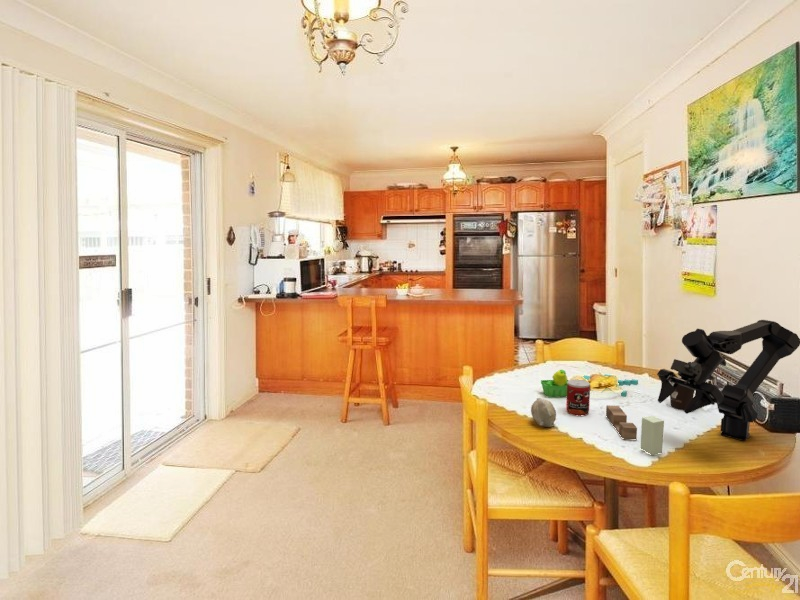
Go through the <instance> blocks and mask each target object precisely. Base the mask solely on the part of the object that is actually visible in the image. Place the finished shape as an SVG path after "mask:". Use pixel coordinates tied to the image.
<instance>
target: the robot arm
mask: <svg viewBox="0 0 800 600" xmlns="http://www.w3.org/2000/svg"><path fill="white" fill-rule="evenodd" d="M759 339H762V341H761V346H762V350H761V351H760V353H758V355H757V356H756V358H755V359H754V361H752V363H751V364H750V366H749V367H748V368H747V370H746V371H745V372H744V373H743V375H742V376H741V377H740V378H739V380H738V381H737V383H735V384H733V385H732V384H728V383H726V384H725V385H724V387H723V388H722V389H721V390H720V389H719V388H718V386H717V385H716V384H713V383H710V382H707V381H712V380H713V378H714V377H713V376H712V374H713V373H714V372H715V371H716V370H717V368H718V367H719V366H722V367H725V366H727V362H726V356H724V355H721V354H720V353H722V354H726V355H733V354H735V353H736V352H738V351H740V350H741V349H742V347H743V345H745V344H748V343H750V342H753V341H756V340H759ZM681 343H682V344H683V346H684V347H685V348H686V349H687V350H688V352H689V353H690V354H691V356H692V357H693V358H695V359H694V361H688V362H685V361H682V360H679V359H676V358H674V359H673V361H672V363H671V366H670V370H669V369H666V368H661V369H660V370H658V372H657V373H656V376H657V377H658V379H659V381H661V385H660V386H661V387H660V391H659V395H658V398H657V402H658V403H659V404H661V403H663V402H664V401H665V400H666V399H667V398H670V395H671V394H672V393H673V392H674V391H676V389H675V388H676V387H678V386H679V385H681V386H684V387H687V388H690V389H693V390H695V391H694V396H693V399H692V400H691V402H690V403H689V404H688V406H687V407H686V409H685V410H683V412H684V413H685V414H686V415H688V414H689V413H692V412H695V411H697V410H699V409H702V408H704V407H708V406H710V405H712V406H714V405H715V404H716V405H717V409H718V414H719V413H720V414H723V417H722V418H721V421H720V435H721V436H723V437H728V438H732V439H736V440H740V441H745V442H746V441H747V440H748V439H749V437H750V436H751V433H750V424H751V423H753V422H754V421H756V420H757V417H758V412H757V411H756V410H755V409H754V408H753V405H754V394H755V392H756V391H757V389H758V388H759V387H760V386H761V385H762V383H763V381H764V380H765V379H766V378H767V377H768V375H769V374H770V372H771V371H772V370H773V368H775V366H776V365H777V363H778V362H779V361H780V360H781V359H783V358H786V357H788V356H790V355H792V354H793V353H794V352H795V351H796V350H797V349H798V348H799V347H800V337H799V336H798V334H797V333H795V332H794V331H792V330H790V329H787V328H786V327H784V326H782V325H781V324H779V323H778V322H777V321H774V320H768V319H759V320H757V321H756V322H754V323H750V324H748V325H745V326H741V327H739V328H736V329H733V330H717V331H712V332H710V333H709V334H708V335H707V333H706V331H705V330H704V329H701V328H696V330H694V331H690V332H688V333H686V334H684V335H683V336H682V339H681ZM673 370H674V371H676V372H677V374H676V373H675V372H674V371H673ZM677 375H678V376H677ZM678 377H681V378H678Z"/></svg>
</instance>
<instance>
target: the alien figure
mask: <svg viewBox="0 0 800 600" xmlns="http://www.w3.org/2000/svg"><path fill="white" fill-rule="evenodd" d="M603 376H613V375H611V374H604V375H603ZM614 376H615V377H616V378H617V376H616V375H614ZM582 377H584V378H585V379H587V380H589V378H590V377H591V375H583V376H582ZM617 380H618V383H619V385H618V386H620V387H621V386H622V387H624V385H625V386H631V385H633V386H638V385H639V379H634V378H632V379H631V380H630V379H624V380H622V379H617ZM627 392H628V391H627V390H623V392H622V393H621V396H620V397H623V398H624V397H625V398H626V397H627V396H628V395H627V394H628V393H627Z"/></svg>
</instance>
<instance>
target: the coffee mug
mask: <svg viewBox="0 0 800 600" xmlns="http://www.w3.org/2000/svg"><path fill="white" fill-rule="evenodd" d="M677 377H678V378H681V376H677ZM675 389H676V391H674V392H673V393H672V394H671V395H670V396H669V398H670V402H669V403H670V407H671V408H673V409H675V410H681V411H684V410H685V409H686V407H687V406H688V404H689V403H690V402H691V400H692V399H693V398H694V396H695V392H696V390H693V389H690V388H687V387H684V386H681V385H679V386H678V387H676V388H675Z"/></svg>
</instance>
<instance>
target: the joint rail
mask: <svg viewBox="0 0 800 600" xmlns="http://www.w3.org/2000/svg"><path fill="white" fill-rule="evenodd" d="M605 407H606V411H605V417H606V416H607V417H606V419H607V420H608V419H609V420H610V421H609V420H608V421H609V422H611V423H612V424H613V425H612V424H611V423H610V424H611V425H612V427H613V426H614V427H615V428H616V430H617V431H618V432H619V434H620V435H621V436H620V435H619V434H618V435H619V436H620V438H621V437H622V438H624V439H636V440H637V438H638V437H637V434H638V427H637V426H636V425H635V424H634V423H633V422H627V419H628V418H627V417H628V415H627V414H626V413H625V412H624V410H623V409H622V408H621V407H620V406H619V405H606V406H605ZM614 427H613V428H614ZM615 428H614V429H615ZM616 430H615V431H616ZM617 431H616V432H617ZM618 432H617V433H618ZM622 438H621V439H622Z"/></svg>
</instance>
